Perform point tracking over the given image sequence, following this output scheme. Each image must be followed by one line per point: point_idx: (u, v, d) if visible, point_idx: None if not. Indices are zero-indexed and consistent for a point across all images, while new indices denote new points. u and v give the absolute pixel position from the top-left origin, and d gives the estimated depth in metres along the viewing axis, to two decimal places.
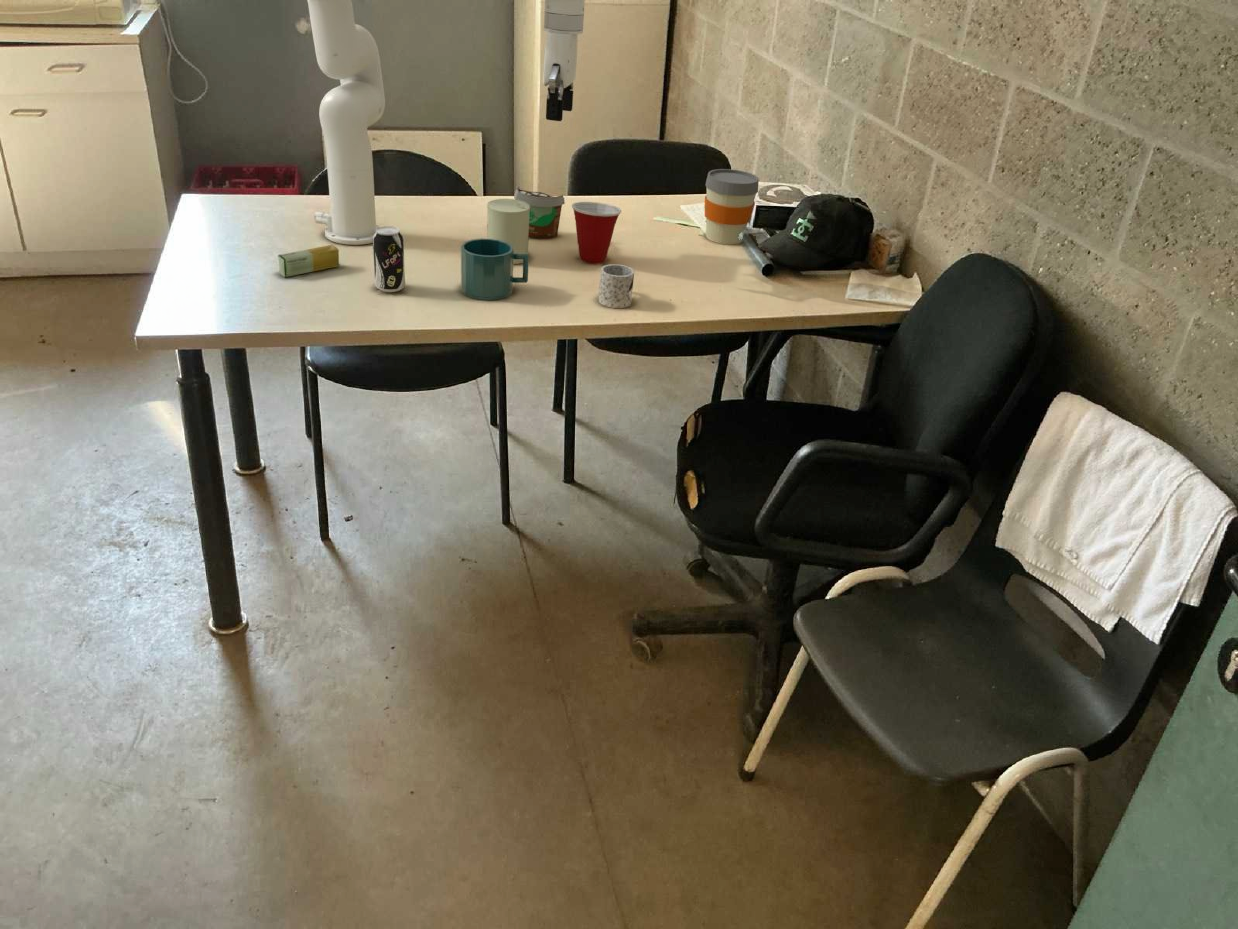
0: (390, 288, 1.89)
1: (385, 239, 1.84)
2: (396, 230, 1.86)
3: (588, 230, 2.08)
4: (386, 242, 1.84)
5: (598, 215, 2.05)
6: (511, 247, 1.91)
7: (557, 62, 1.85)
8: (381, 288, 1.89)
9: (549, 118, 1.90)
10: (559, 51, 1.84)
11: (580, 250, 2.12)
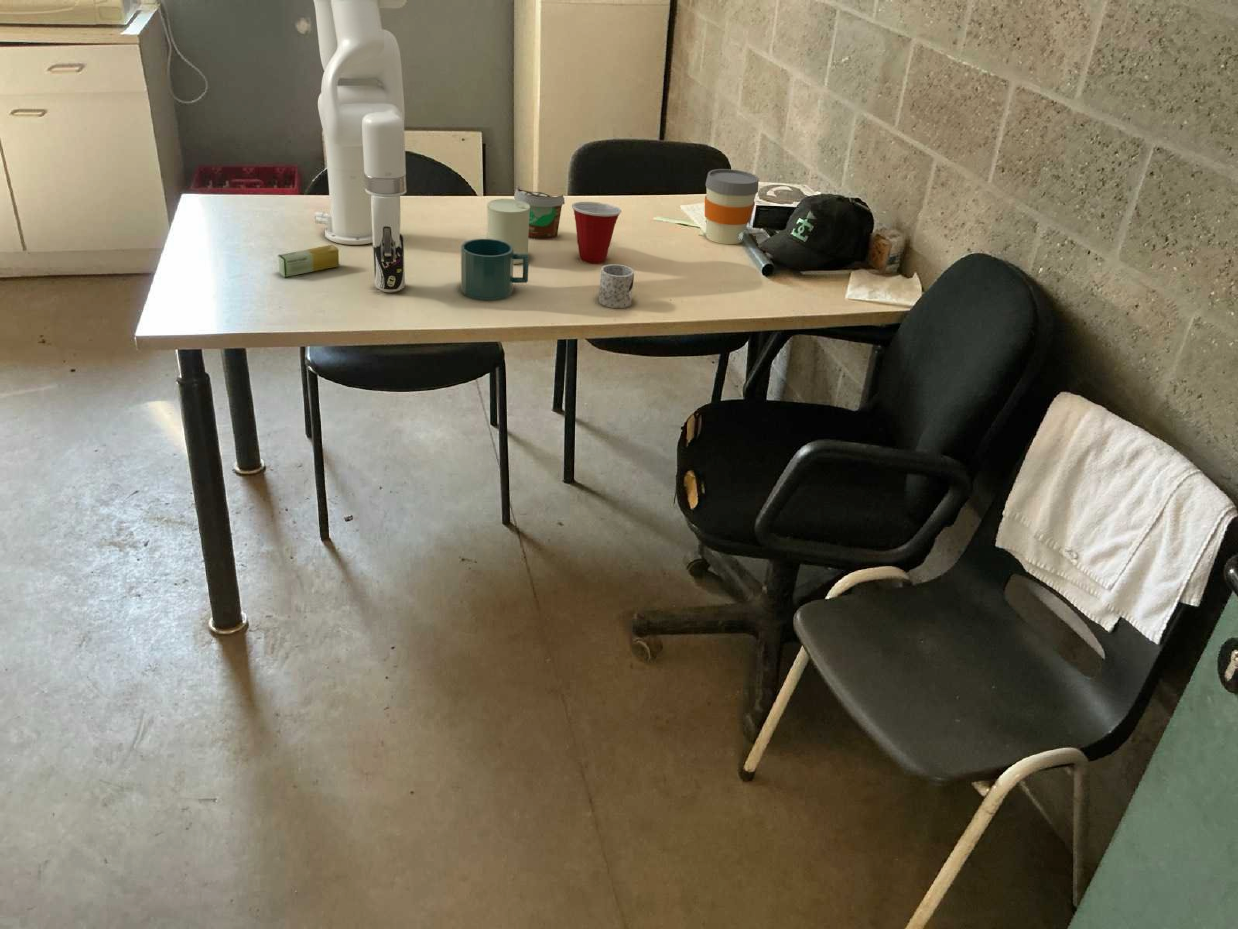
0: (390, 288, 1.89)
1: None
2: None
3: (588, 230, 2.08)
4: None
5: (598, 215, 2.05)
6: (511, 247, 1.91)
7: (387, 225, 1.80)
8: (381, 288, 1.89)
9: None
10: (388, 214, 1.79)
11: (580, 250, 2.12)
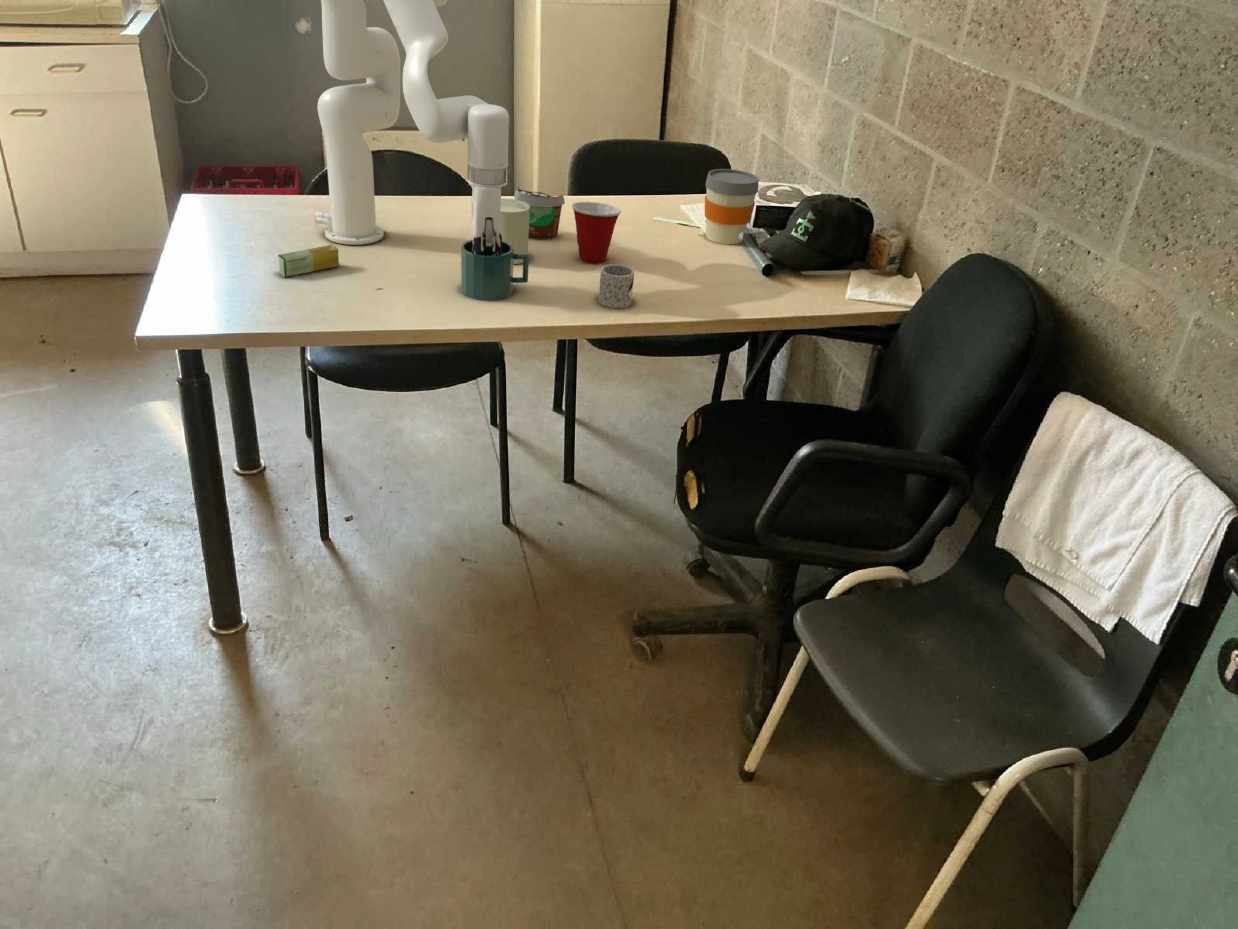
0: None
1: None
2: None
3: (588, 230, 2.08)
4: None
5: (598, 215, 2.05)
6: (511, 247, 1.91)
7: (490, 216, 1.82)
8: None
9: None
10: (491, 205, 1.81)
11: (580, 250, 2.12)
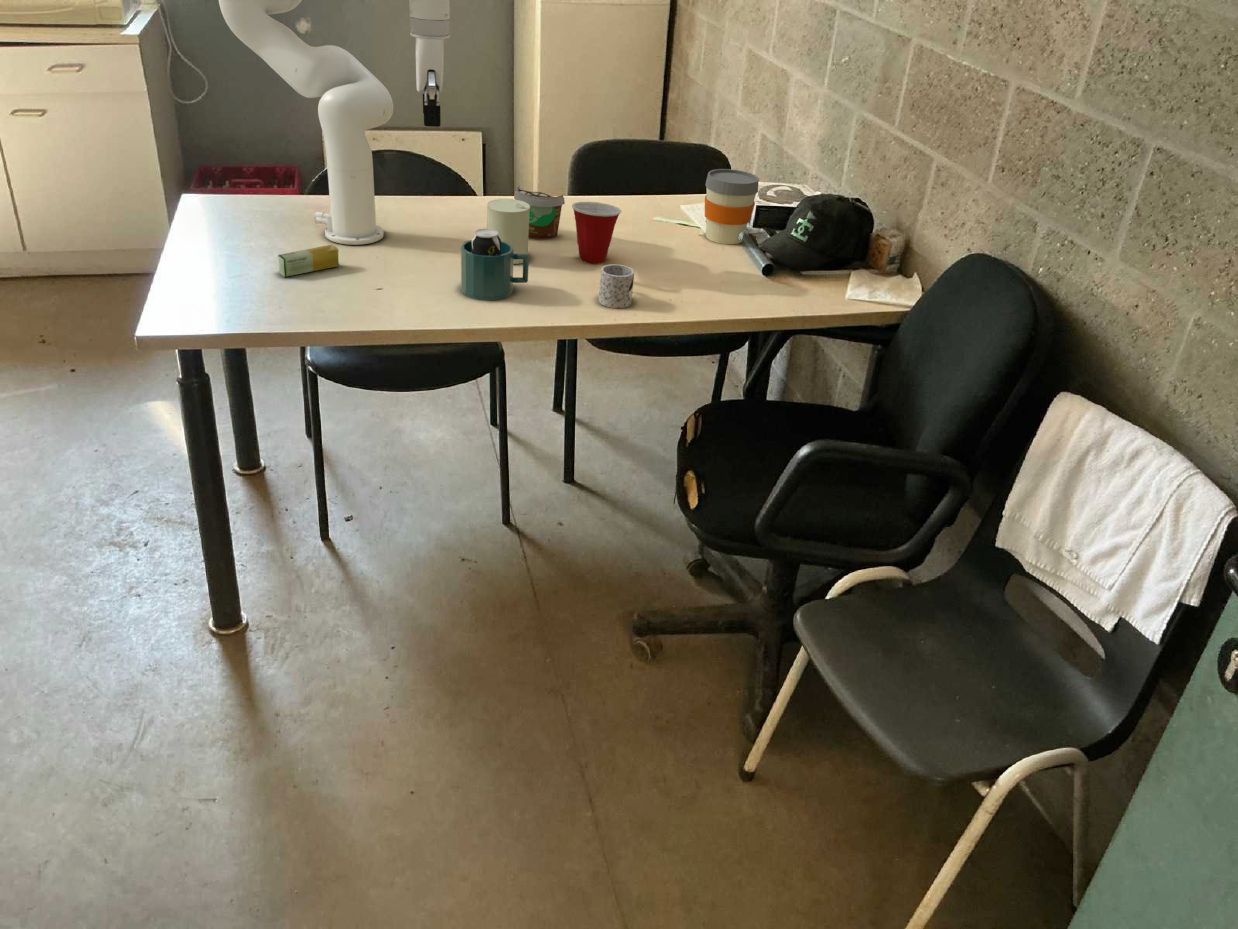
0: None
1: (485, 242, 1.85)
2: (494, 232, 1.88)
3: (588, 230, 2.08)
4: (486, 245, 1.85)
5: (598, 215, 2.05)
6: (511, 247, 1.91)
7: (432, 68, 1.84)
8: None
9: (427, 124, 1.90)
10: (433, 57, 1.84)
11: (580, 250, 2.12)
